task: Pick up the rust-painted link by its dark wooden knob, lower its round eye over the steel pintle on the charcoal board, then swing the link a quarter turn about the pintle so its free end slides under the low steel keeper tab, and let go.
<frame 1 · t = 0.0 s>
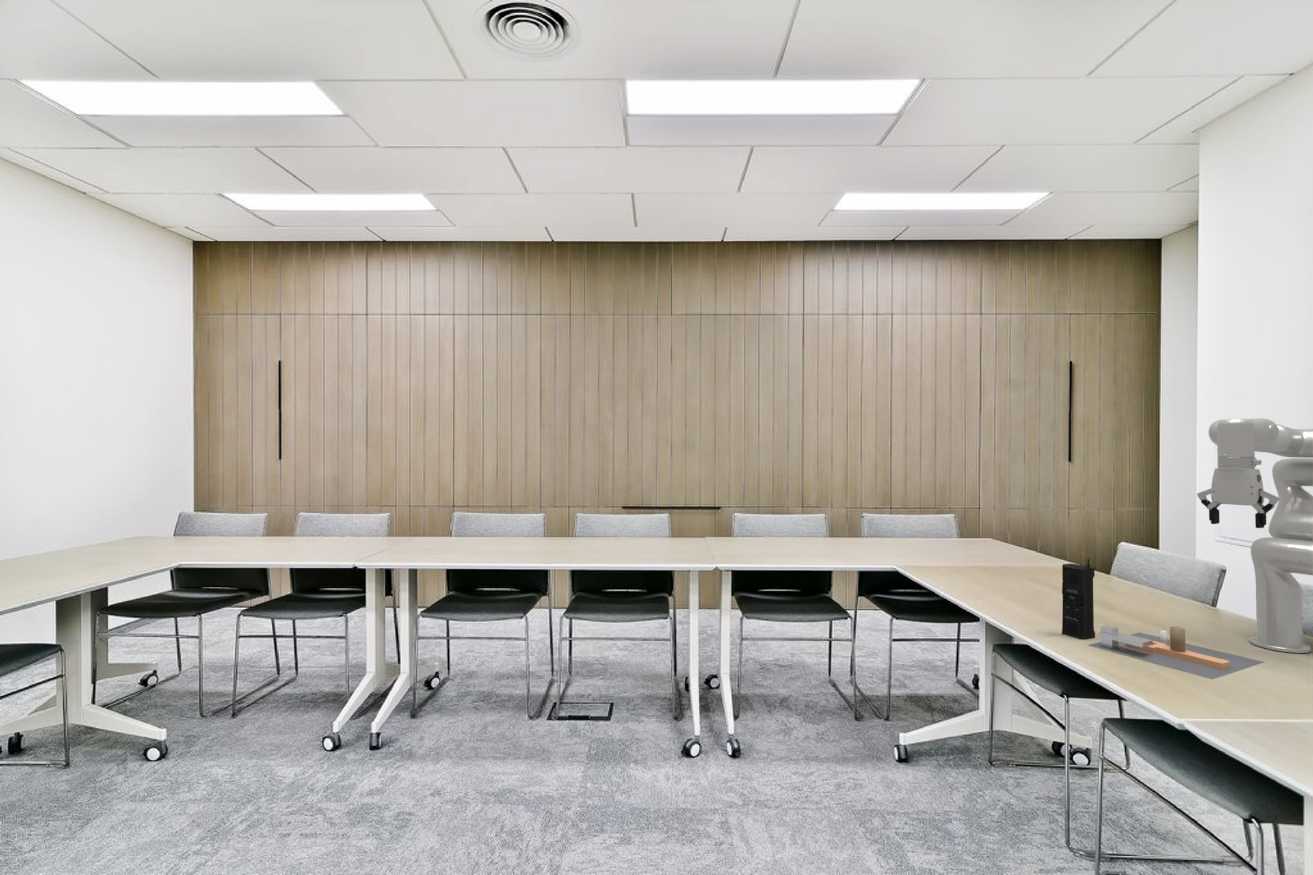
hand: (1237, 525, 170), 37 cm above the table, tool pointing down, fingers open, 9 cm apart
link: (1226, 668, 159), point 1 cm above the table, touching pintle board
keeper: (1131, 657, 172), resting on pintle board
portable radio: (1076, 640, 187), on the table
pintle board: (1172, 658, 171), on the table
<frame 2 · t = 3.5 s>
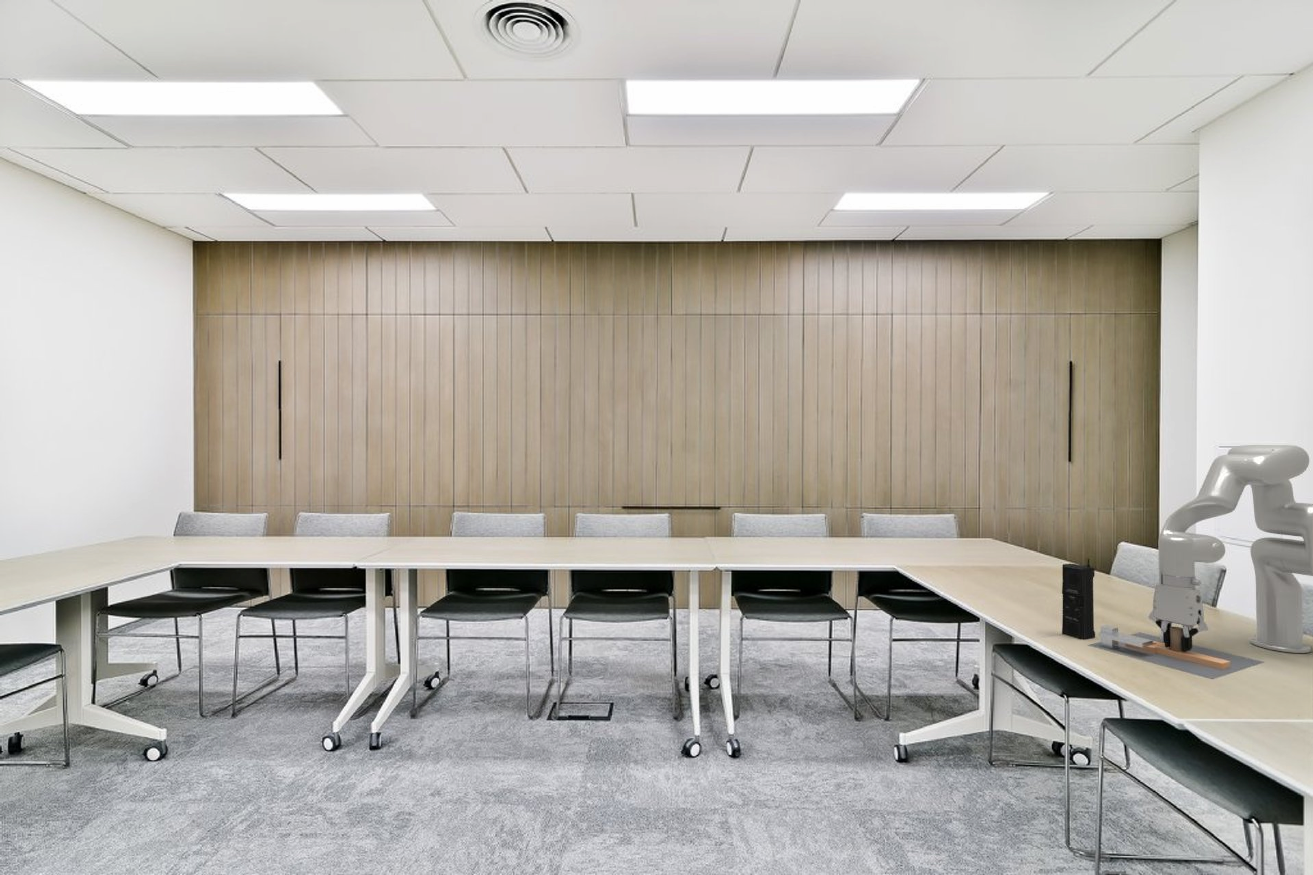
hand: (1177, 647, 168), 4 cm above the table, tool pointing down, fingers closed on link, 3 cm apart
link: (1226, 668, 159), point 1 cm above the table, touching gripper, pintle board
everything else where it was.
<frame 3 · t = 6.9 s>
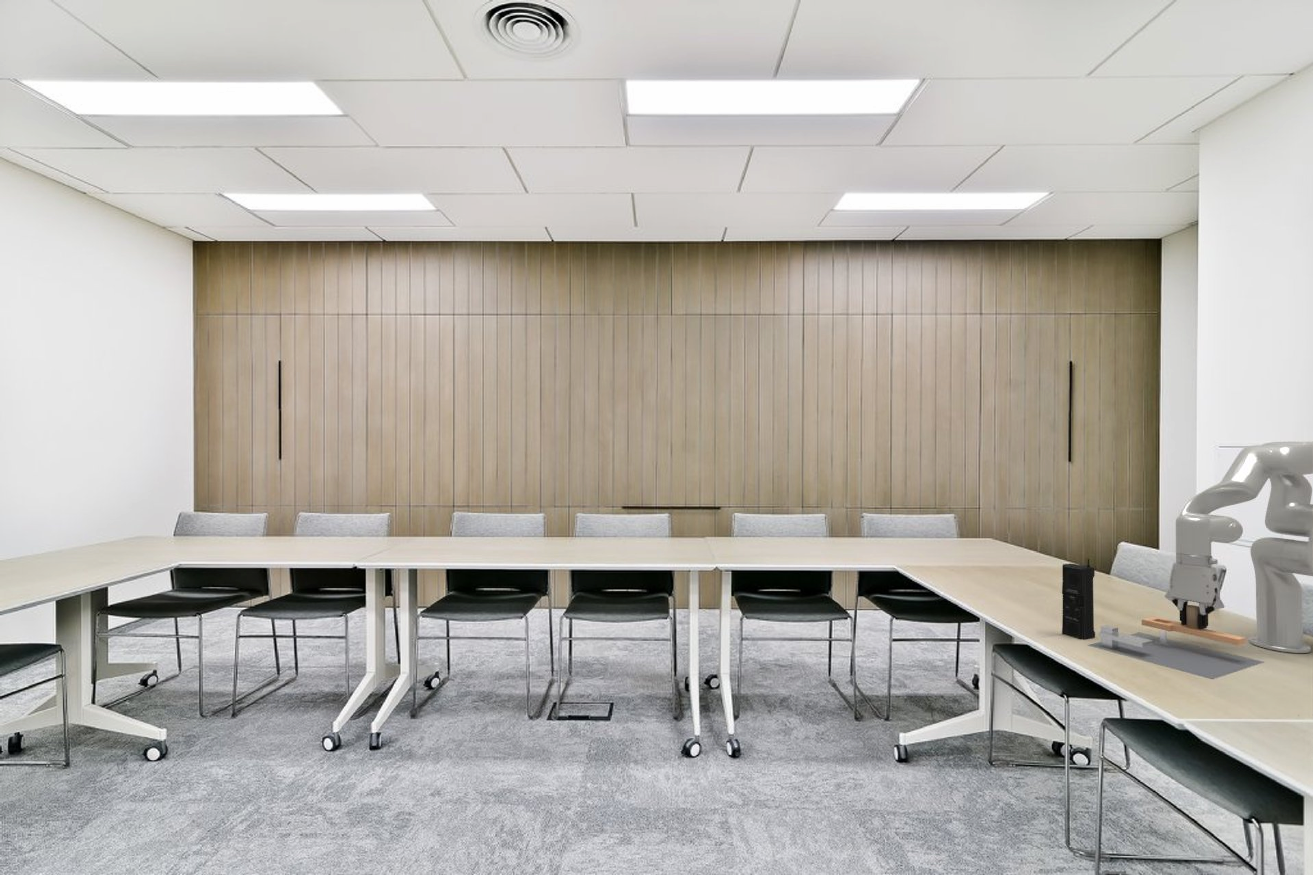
hand: (1193, 625, 172), 9 cm above the table, tool pointing down, fingers closed on link, 3 cm apart
link: (1242, 644, 163), point 6 cm above the table, touching gripper
everything else where it was.
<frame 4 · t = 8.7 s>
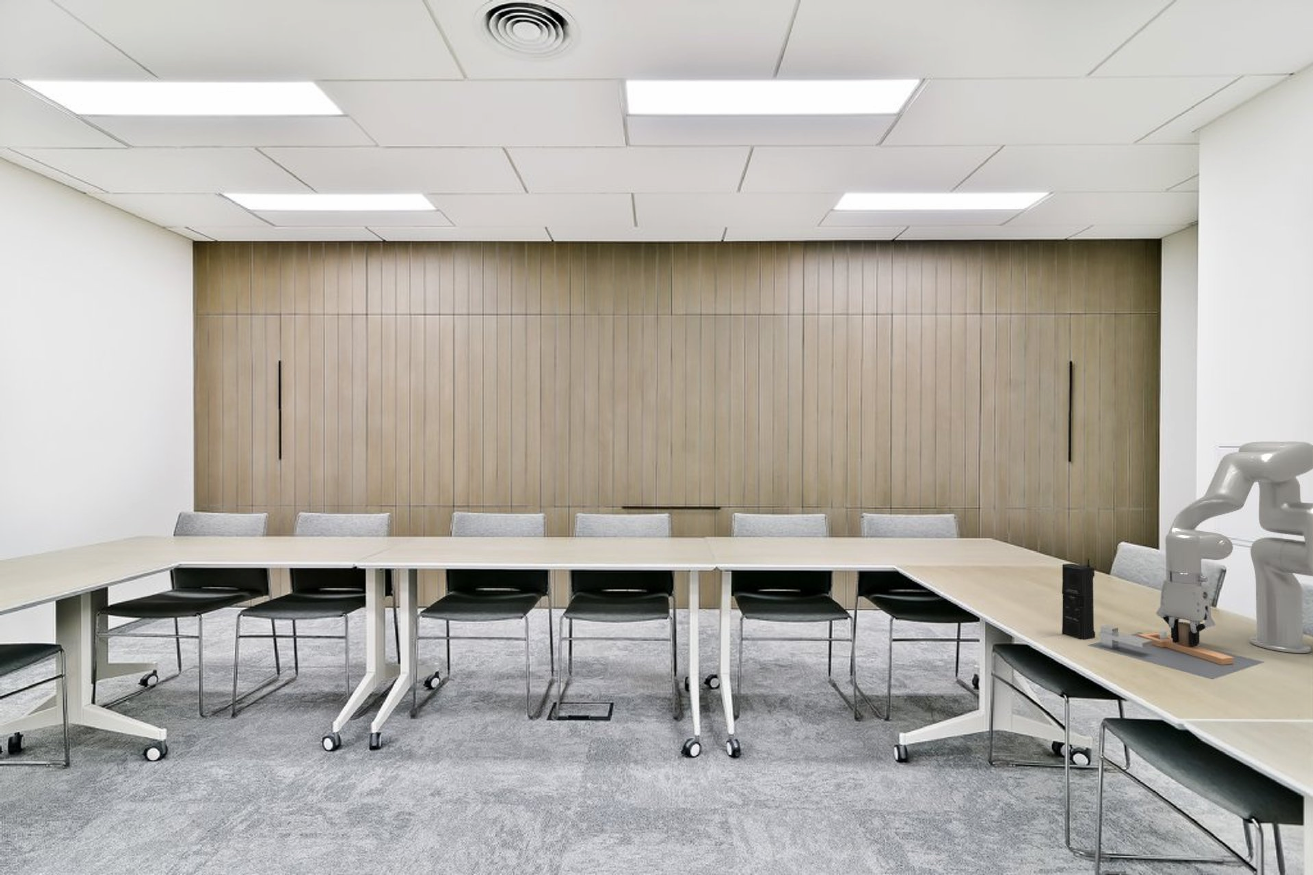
hand: (1185, 643, 172), 4 cm above the table, tool pointing down, fingers closed on link, 3 cm apart
link: (1227, 664, 162), point 2 cm above the table, touching gripper, pintle board
everything else where it was.
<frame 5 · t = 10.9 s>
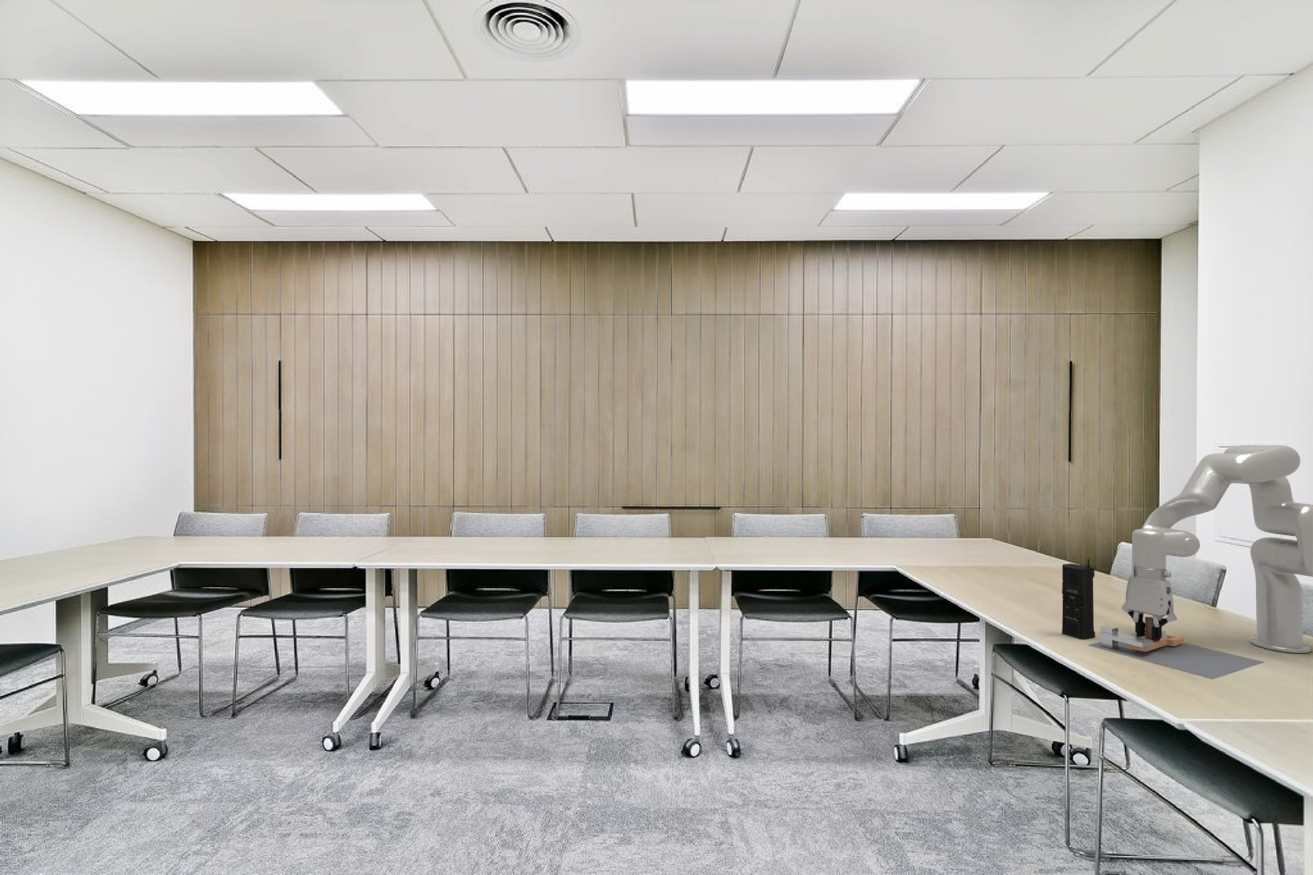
hand: (1148, 637, 175), 4 cm above the table, tool pointing down, fingers closed on link, 3 cm apart
link: (1136, 649, 170), point 3 cm above the table, touching gripper, keeper, pintle board
everything else where it was.
when the fingers open (4 cm above the table, at t = 11.6 s): link drops 1 cm, resting on pintle board.
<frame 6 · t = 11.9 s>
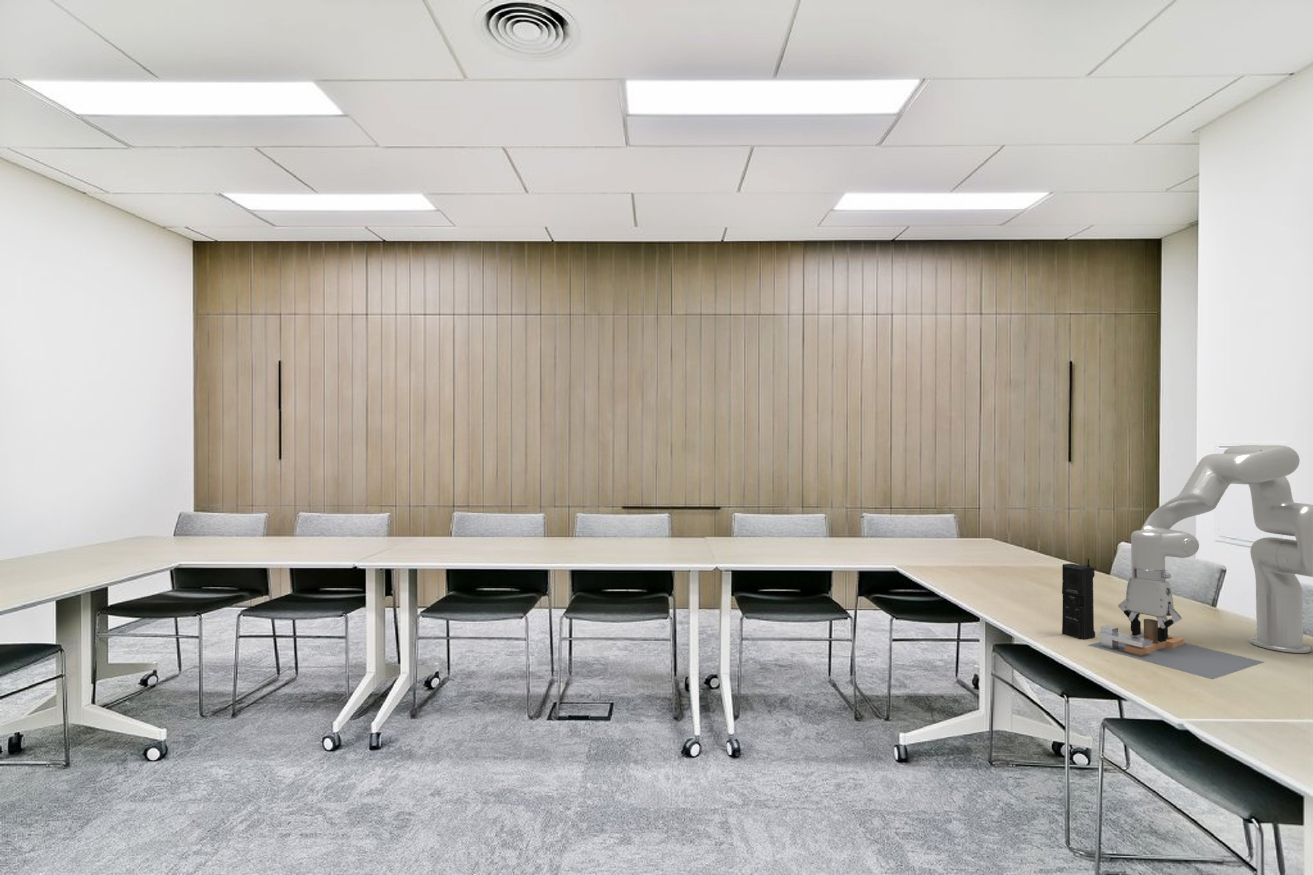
hand: (1149, 637, 176), 4 cm above the table, tool pointing down, fingers open, 5 cm apart
link: (1132, 653, 171), point 1 cm above the table, touching pintle board
everything else where it was.
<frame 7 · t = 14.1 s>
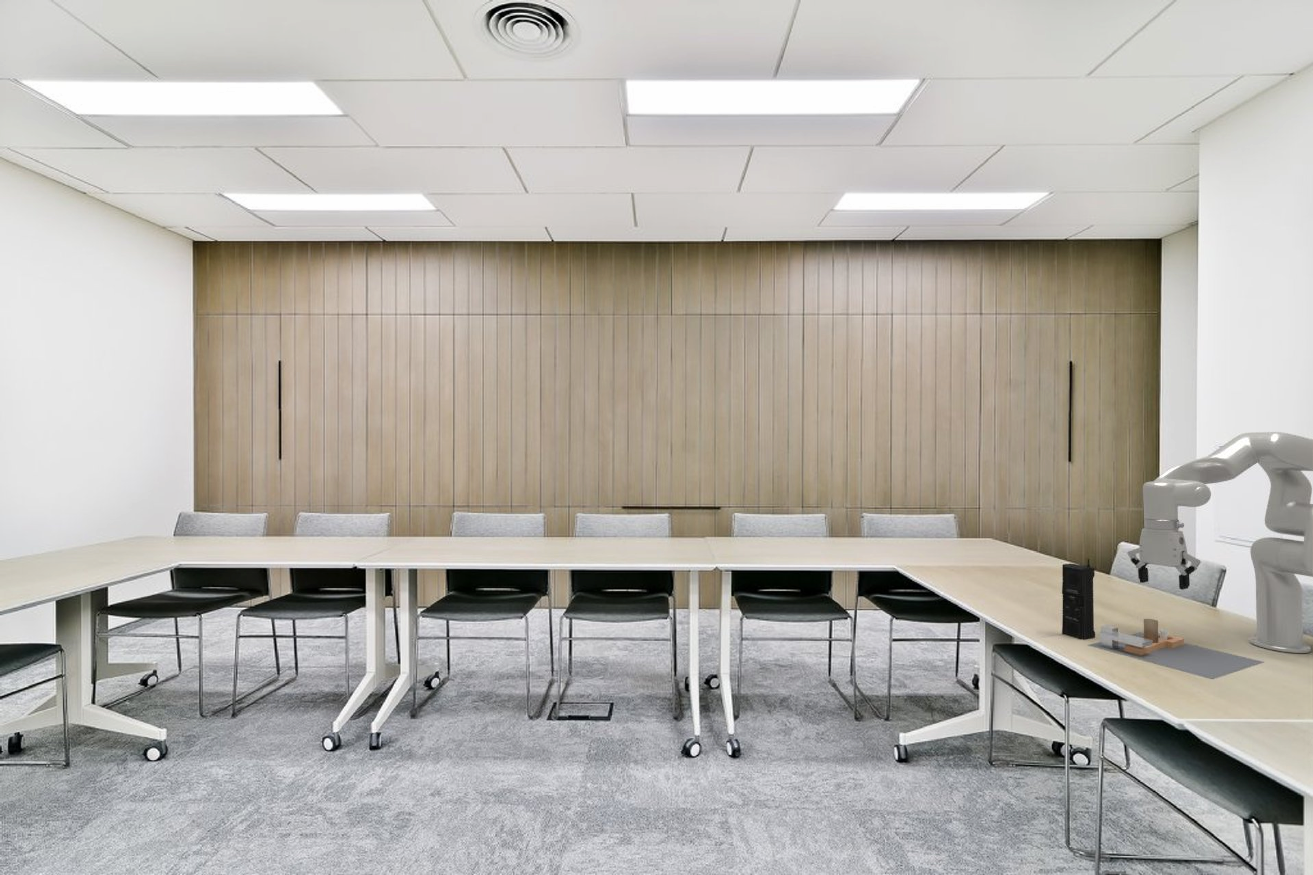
hand: (1163, 585, 175), 19 cm above the table, tool pointing down, fingers open, 9 cm apart
nothing on the table moved.
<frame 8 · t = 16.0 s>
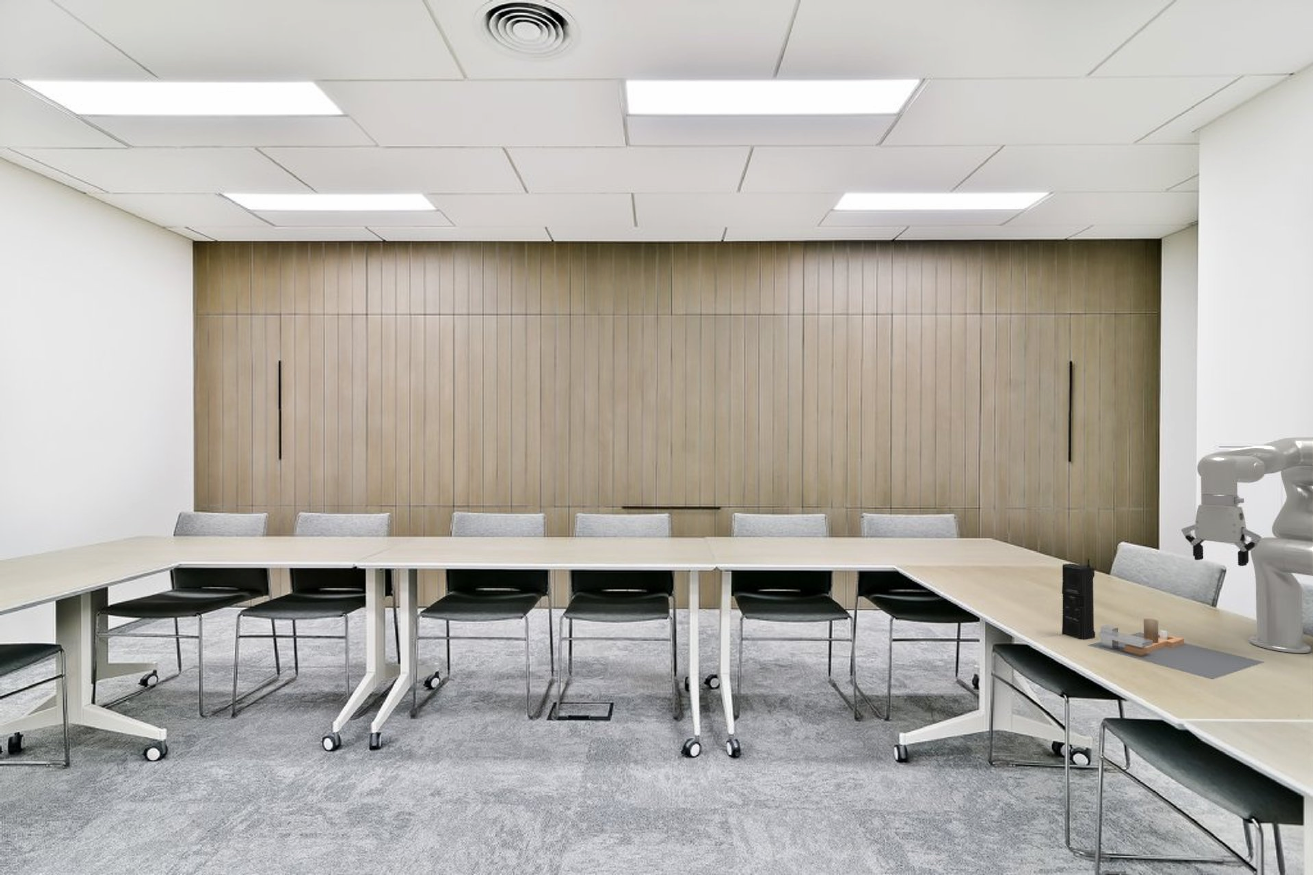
hand: (1220, 562, 172), 26 cm above the table, tool pointing down, fingers open, 9 cm apart
nothing on the table moved.
at the end: link 1.1 cm from the target spot, point 1.5 cm above the table; link tilted 0°; the gripper is holding nothing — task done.
